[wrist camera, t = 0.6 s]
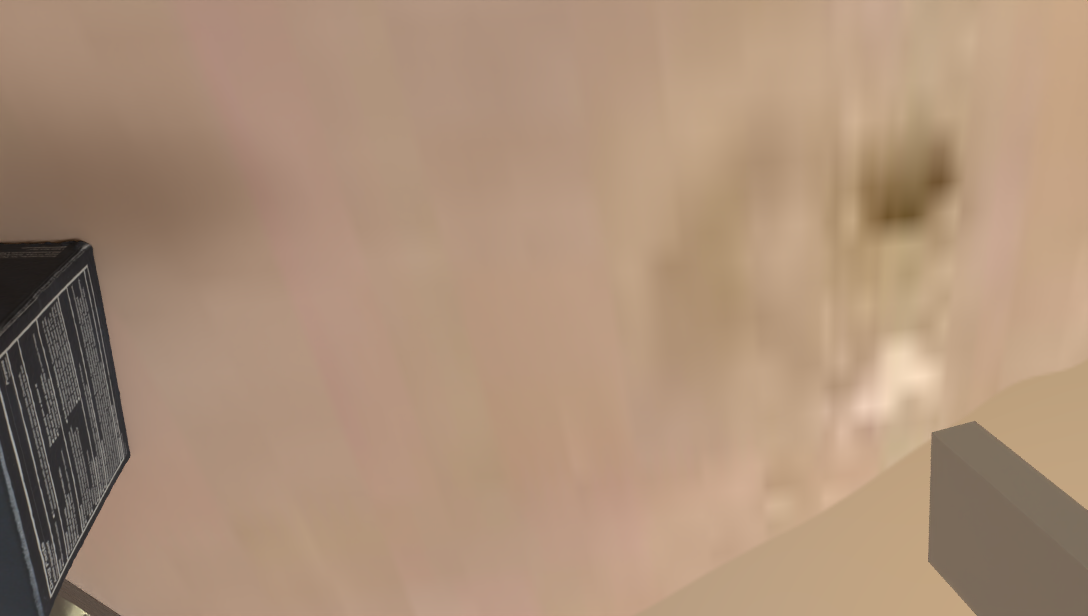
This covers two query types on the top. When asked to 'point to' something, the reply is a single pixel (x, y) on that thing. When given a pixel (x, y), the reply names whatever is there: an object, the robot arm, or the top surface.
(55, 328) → the small box
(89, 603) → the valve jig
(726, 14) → the top surface
